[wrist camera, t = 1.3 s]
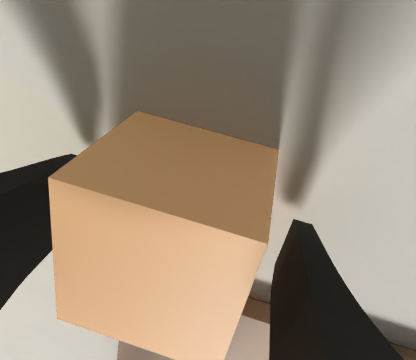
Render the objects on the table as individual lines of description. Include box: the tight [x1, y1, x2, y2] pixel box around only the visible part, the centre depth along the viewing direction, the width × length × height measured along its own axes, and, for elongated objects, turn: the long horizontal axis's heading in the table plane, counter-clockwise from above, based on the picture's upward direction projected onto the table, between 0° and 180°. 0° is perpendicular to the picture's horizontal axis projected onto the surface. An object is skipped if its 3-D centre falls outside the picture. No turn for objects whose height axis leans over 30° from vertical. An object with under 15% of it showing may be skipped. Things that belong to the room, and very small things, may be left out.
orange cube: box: [48, 111, 279, 360], centre depth 11 cm, size 5×5×5 cm
